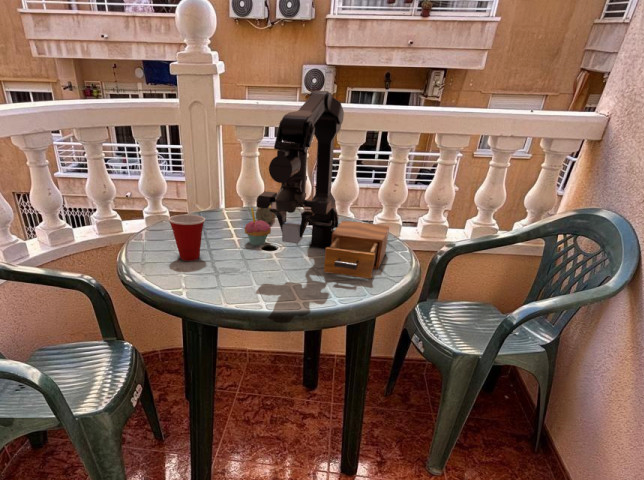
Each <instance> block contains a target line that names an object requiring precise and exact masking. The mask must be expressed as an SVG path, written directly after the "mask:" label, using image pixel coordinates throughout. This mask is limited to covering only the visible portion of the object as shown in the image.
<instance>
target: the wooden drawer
mask: <svg viewBox="0 0 644 480" xmlns="http://www.w3.org/2000/svg"><path fill="white" fill-rule="evenodd" d="M378 244H379V242H372V241H364V240H355V239H347V238H339V237H337V238H336V239H335V241H334V242H333V244H332V245H331V246H330V247H327V248H325V252H324V253H325V254H324V265H323V273H327V274H336V275H342V276H349V277H357V278H363V279H364V278H365V279H372V277H373V266H374V264H375V262H376V258H377V251H378Z"/></svg>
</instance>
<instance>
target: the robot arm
mask: <svg viewBox="0 0 644 480" xmlns="http://www.w3.org/2000/svg"><path fill="white" fill-rule="evenodd" d="M344 117H345V112H344V108H343V105H342V103H341V102H340V101H339V100H338V99H336V98H335V97H334V96H333V95H332V93H331V92H329V91H328V90H314V91H311V92H310V94H309V97H308V98H307V100H305V102H304V103H303V105H301V107H300V108H299V109H298V110H295V111H289V112H288V113H286V114H284V115H283V116H282V118H281V119H280V122H279V124H278V129H277V132H276V137H275V141H274V146H273V150H276V151H277V152H276V156H274V157H273V158H272V159H271V161H270V162H269V166H268V173H269V176H270V177H271V179H273V181H274V182H275V183H278V184H281V185H280V189H279V190H278V191H277V192H276V191H268V190H267V191H266V190H265V191H263V192H262V193H260V194H259V195H258V196H257V197H256V200H255V202H256V203H255V204H256V205H255V206H256V208H257V209H258V208H266V209H267V208H268V207H269V206H270V205H271V209H270V212H273V213H274V216H275V217H276V219H277V222H278V225H279V228H280V230H281V232H282V225H283V224H284V223H285V222H286V221H287V213H289V214H292V213H294V212H296V210H297V208H302V209H303V211H302V212H301V213H300V217H301V221H300V222H301V227H300V238H301V237H302V236H304V233H305V232H306V228H307V226H309V227H311V240H310V243H309V247H313V248H314V247H315V248H321V249H326V248H327V247H330V246H331V241H332V234H333V232H334V231H335V230H336V228H337V227H338V226H339V213H338V210H337V209H338V208H337V207H336V198H335V197H334V195H333V193H332V181H333V179H332V178H333V166H334V165H333V164H334V163H333V162H334V149H335V139H336V137H337V135H338V134H339V132H340V131H341V128H342V124H343V123H344V122H343V121H344ZM314 137H315V139H316V141H317V146H316V147H317V149H316V151H317V154H316V170H315V171H316V173H315V178H316V179H315V194H314V196H313V197H312V199H306V198H307V192H306V190H307V187H306V186H307V181H308V175H307V171H308V170H307V169H308V168H307V166H308V151H309V148H311V145H312V142H313V139H314Z"/></svg>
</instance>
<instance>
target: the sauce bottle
mask: <svg viewBox="0 0 644 480" xmlns="http://www.w3.org/2000/svg"><path fill="white" fill-rule="evenodd" d="M270 209H271V205H270V206H269V207H268V208H267V209H266V208H258V207H257V209H256V210H255V211H256V212H255V220H261V221H265V222H266V223H268V224H270V222H271V221H272V220H273V217H274V216H275V214H274V213H273V212H270Z"/></svg>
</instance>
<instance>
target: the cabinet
mask: <svg viewBox="0 0 644 480" xmlns="http://www.w3.org/2000/svg"><path fill="white" fill-rule="evenodd" d="M390 227H391V226H390V225H388V224H377V223H369V222H360V221H350V220H343V219H342V220H341V221H340V223H338V227H337V228H335V229H334V230H335V231H334V232H333V234H332V241H331V245H332V244H333V242H334V241H335V239H336V238H337V237H339V238H347V239H355V240H364V241H372V242H379V244H378V251H377V258H376V262H375V264H374V266H373V269H375V270H379V268H380V266H381V264H382V262H383V259H384V256H385V255H386V252H387V246H388V245H387V244H388V239H389V233H390Z"/></svg>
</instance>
